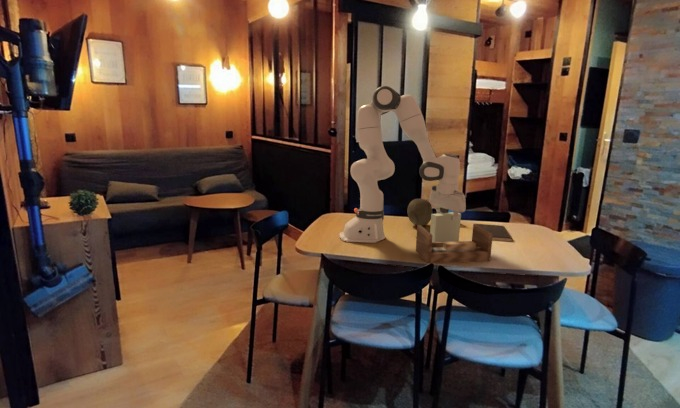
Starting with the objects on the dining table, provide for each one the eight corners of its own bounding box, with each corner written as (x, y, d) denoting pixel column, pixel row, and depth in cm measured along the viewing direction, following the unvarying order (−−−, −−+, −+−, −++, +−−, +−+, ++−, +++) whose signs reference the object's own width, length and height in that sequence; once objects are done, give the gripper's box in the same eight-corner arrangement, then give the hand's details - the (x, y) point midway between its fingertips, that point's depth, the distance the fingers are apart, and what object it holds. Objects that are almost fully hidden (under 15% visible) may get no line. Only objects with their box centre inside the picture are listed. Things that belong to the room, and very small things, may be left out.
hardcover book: (478, 239, 201) (478, 235, 201) (473, 227, 223) (473, 223, 222) (512, 242, 198) (513, 238, 197) (504, 229, 220) (504, 225, 219)
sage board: (434, 244, 190) (436, 216, 187) (429, 242, 194) (431, 214, 191) (458, 241, 195) (461, 213, 192) (453, 239, 199) (455, 211, 196)
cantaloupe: (437, 227, 219) (439, 200, 216) (416, 230, 213) (418, 202, 210) (421, 221, 232) (423, 195, 228) (400, 223, 225) (402, 197, 222)
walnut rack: (426, 263, 167) (428, 235, 164) (415, 250, 181) (417, 225, 179) (489, 261, 170) (492, 233, 168) (473, 249, 185) (476, 224, 182)
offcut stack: (433, 261, 169) (434, 244, 168) (430, 258, 173) (431, 242, 171) (478, 260, 172) (480, 243, 170) (475, 257, 175) (476, 241, 174)
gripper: (470, 192, 182) (467, 222, 185) (438, 185, 199) (436, 212, 202) (460, 193, 179) (457, 223, 182) (428, 185, 196) (426, 213, 199)
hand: (445, 217), depth 192 cm, fingers open, 8 cm apart
